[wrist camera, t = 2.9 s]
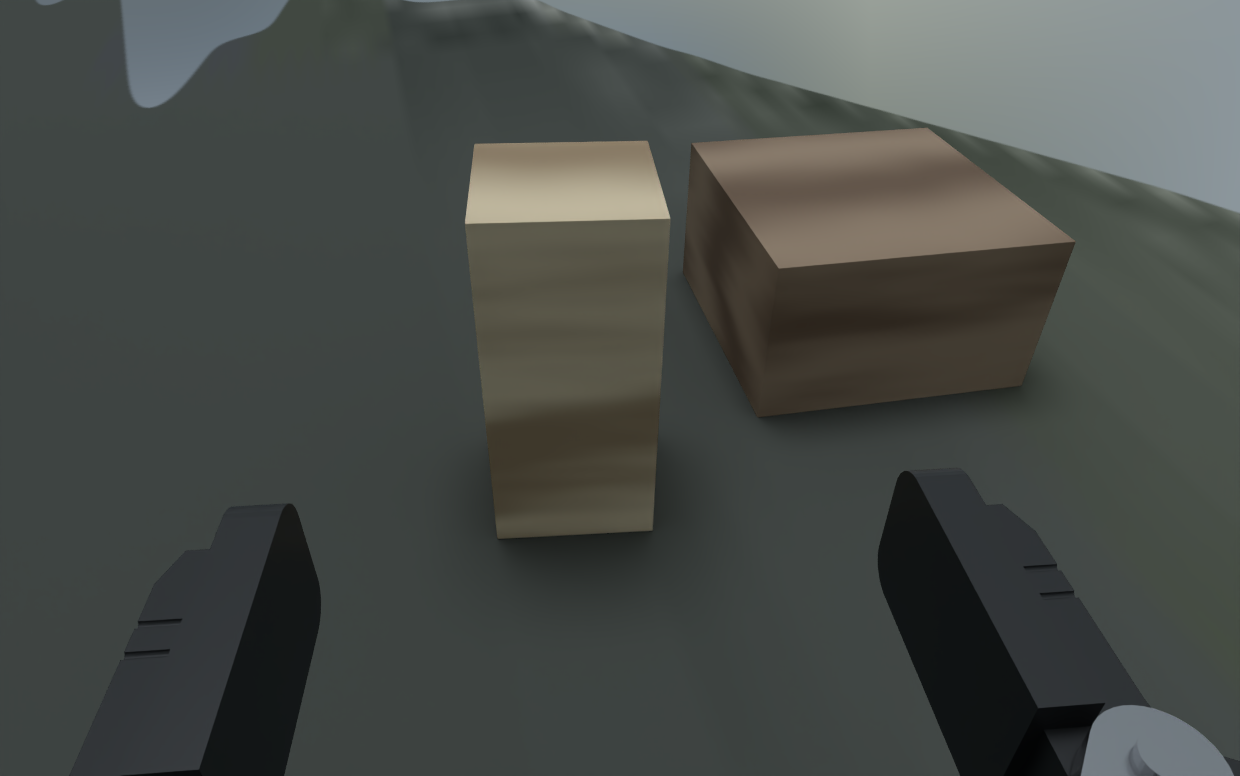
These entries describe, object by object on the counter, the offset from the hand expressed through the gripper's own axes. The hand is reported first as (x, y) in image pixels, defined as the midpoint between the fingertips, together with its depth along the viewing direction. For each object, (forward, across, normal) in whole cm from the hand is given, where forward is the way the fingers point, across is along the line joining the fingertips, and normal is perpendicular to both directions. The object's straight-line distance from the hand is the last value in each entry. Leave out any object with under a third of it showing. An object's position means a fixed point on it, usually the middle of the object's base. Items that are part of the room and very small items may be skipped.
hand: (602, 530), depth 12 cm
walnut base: (+20, -11, +10) cm, 25 cm away
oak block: (+12, 0, +10) cm, 15 cm away
